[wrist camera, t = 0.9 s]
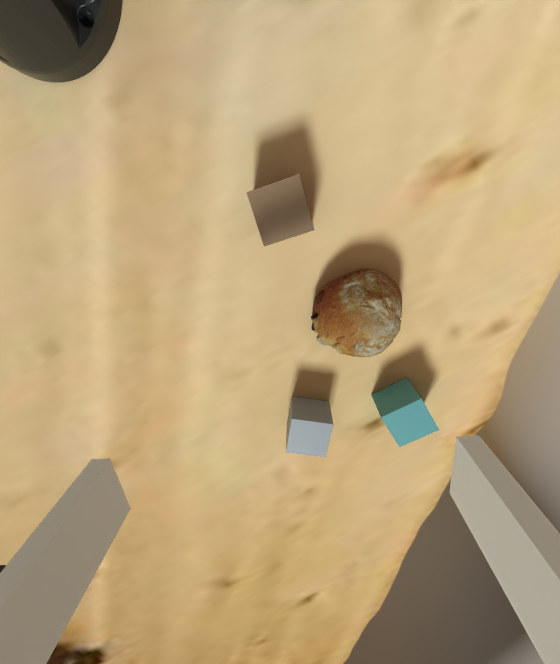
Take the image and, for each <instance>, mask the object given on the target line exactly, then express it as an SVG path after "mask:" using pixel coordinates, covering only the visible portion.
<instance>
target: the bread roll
mask: <svg viewBox="0 0 560 664" xmlns="http://www.w3.org/2000/svg"><path fill="white" fill-rule="evenodd" d="M401 313H402V295H401V292H400V289H399V287H398V286H397V284H396V283H395V282H394V281H393V280H392V279H391V278H390V277H389V276H387V275H386V274H384V273H382V272H379V271H376V270H370V269H365V270H362V269H361V270H357V271H354V272H352V273H348V274H347V275H344V276H341V277H339V278H337V279H335V280H334V281H331V282H329V283H328V284H327V285H325V286H324V287H323V288H322V289H321V291H320V293H319V294H318V296H317V297H316V298H315V300H314V304H313V312H312V316H311V319H312V321H313V322H312V323H313V324H312V330H314V331H315V332H317V333H318V336H317V340H318V342H319V344H322V345H329V346H332V347H333V348H335V349H336V350H337V352H339V353H340V354H343V355H344V354H346V355H350V356H355V357H370V356H374V355H377V354H379V353H381V352H383V351H384V350H385V349H386V348H387V347H388V346H389V345H390V344H391V343H392V342H393V339H394V338H395V337H396V335H397V334H398V333H399V331H400V324H401V320H400V318H401Z"/></svg>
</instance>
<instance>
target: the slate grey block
mask: <svg viewBox="0 0 560 664" xmlns="http://www.w3.org/2000/svg"><path fill="white" fill-rule="evenodd" d="M332 428H333V421H332V415H331V410H330V405H329V401H323V400H316V399H308V398H301V397H294V396H292V399H291V405H290V411H289V417H288V423H287V437H286V452H290V453H298V454H305V455H312V456H320V457H326V454H327V449H328V445H329V441H330V436H331V432H332Z"/></svg>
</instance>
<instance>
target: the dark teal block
mask: <svg viewBox="0 0 560 664" xmlns="http://www.w3.org/2000/svg"><path fill="white" fill-rule="evenodd" d="M372 397H373V400H374V402H375V404H376V407H377V409H378V411H379V414H380V416H381V418H382V420H383V421H384V423H385V424H386V426H387V428H388V429H389V431H390V432H391V434H392V436H393V437H394V439H395V440H396V442H397V444H398V445H399V447H401V446H403V445H406V444H408V443H410V442H412V441H415V440H417V439H419V438H422V437H424V436H426V435H428V434H431V433H433V432H435V431H437V430H439V429H438V427H437V425H436V423H435V422H434V420H433V418H432V416H431V415H430V413H429V411H428V409H427V407H426V406H425V404H424V402H423V400H422V398H421V397H420V396H419V394H418V393H417V391H416V390H415V388H414V387H413V386H412V384H411V383H410V381H409V380H408V378H407V377H406V378H404V379H402V380H400V381H398V382H396V383H394V384H392V385H390V386H388V387H386V388H384V389H382V390H380V391H378V392H376V393H374V394H372Z"/></svg>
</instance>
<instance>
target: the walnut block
mask: <svg viewBox="0 0 560 664" xmlns="http://www.w3.org/2000/svg"><path fill="white" fill-rule="evenodd" d="M247 195H248V198H249V201H250V204H251V207H252V210H253V213H254V217H255V220H256V223H257V226H258V229H259V232H260V235H261V238H262V241H263V244H264V246H267V245H270V244H273V243H276V242H279V241H282V240H285V239H288V238H291V237H294V236H298V235H301V234H304V233H307V232H310V231H313V230H314V227H313V224H312V220H311V216H310V212H309V208H308V205H307V201H306V197H305V193H304V190H303V186H302V182H301V178H300V175H299V174H297V175H294V176H291V177H289V178H286V179H283V180H280V181H277V182H275V183H272V184H269V185H266V186H263V187H261V188H258V189H255V190H252V191H249V192H247Z"/></svg>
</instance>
